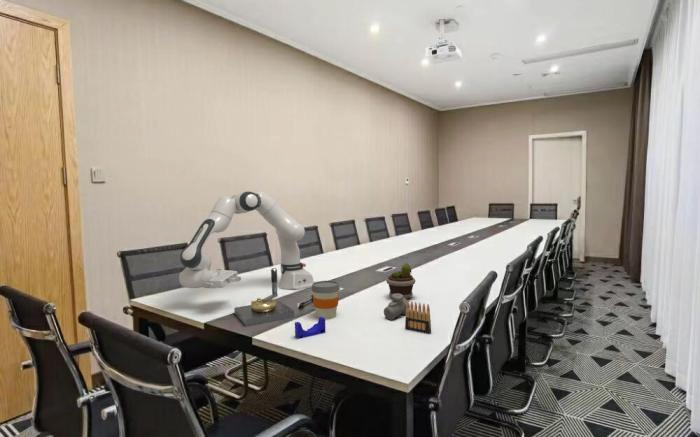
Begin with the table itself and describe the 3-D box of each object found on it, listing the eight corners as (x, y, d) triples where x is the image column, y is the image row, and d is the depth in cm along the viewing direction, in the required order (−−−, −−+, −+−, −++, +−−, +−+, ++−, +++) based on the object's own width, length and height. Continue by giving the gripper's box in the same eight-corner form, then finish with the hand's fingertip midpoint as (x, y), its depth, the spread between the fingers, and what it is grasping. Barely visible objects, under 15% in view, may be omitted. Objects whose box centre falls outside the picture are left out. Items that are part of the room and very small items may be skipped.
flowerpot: (381, 298, 205) (380, 261, 203) (398, 292, 216) (398, 257, 215) (403, 304, 195) (403, 264, 194) (420, 297, 206) (420, 260, 205)
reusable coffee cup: (329, 322, 171) (328, 288, 169) (306, 317, 177) (306, 285, 176) (345, 314, 181) (344, 282, 180) (323, 310, 188) (322, 279, 187)
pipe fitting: (396, 310, 184) (396, 289, 182) (410, 315, 179) (410, 294, 177) (380, 319, 176) (380, 298, 174) (394, 325, 170) (394, 303, 168)
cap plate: (279, 306, 196) (278, 299, 195) (294, 317, 178) (294, 310, 178) (234, 313, 184) (234, 307, 184) (246, 326, 167) (245, 319, 167)
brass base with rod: (267, 313, 174) (266, 276, 173) (246, 310, 178) (245, 274, 177) (286, 302, 190) (285, 268, 189) (266, 300, 194) (265, 267, 192)
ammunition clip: (404, 329, 161) (404, 300, 160) (406, 327, 163) (406, 299, 162) (429, 334, 155) (429, 304, 154) (431, 332, 157) (431, 303, 156)
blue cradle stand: (320, 329, 162) (320, 315, 162) (325, 333, 158) (325, 318, 158) (293, 335, 156) (293, 321, 156) (298, 339, 152) (297, 324, 152)
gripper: (202, 277, 182) (231, 277, 181) (220, 268, 202) (246, 268, 201) (203, 291, 182) (232, 291, 181) (221, 280, 203) (247, 280, 201)
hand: (239, 279), depth 191 cm, fingers closed
